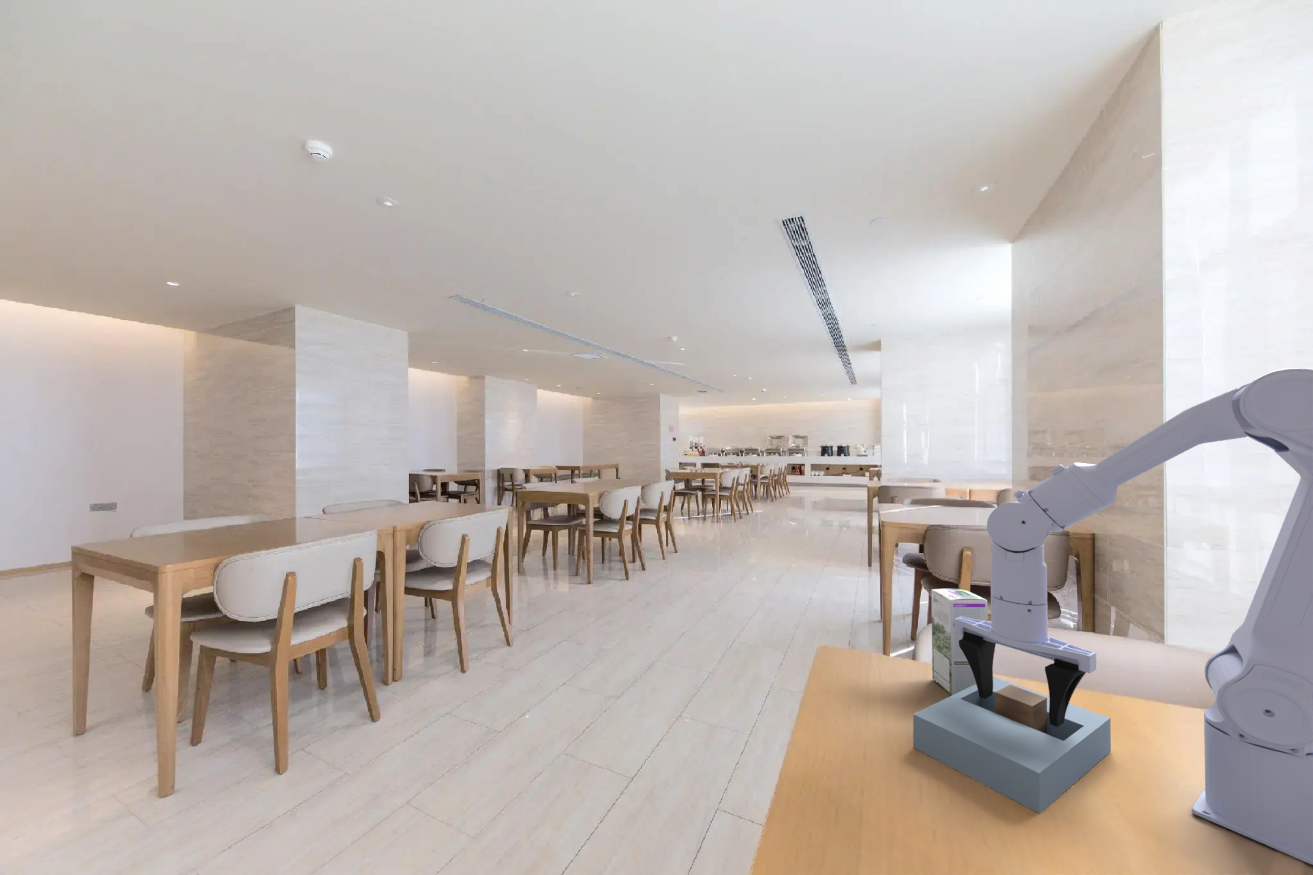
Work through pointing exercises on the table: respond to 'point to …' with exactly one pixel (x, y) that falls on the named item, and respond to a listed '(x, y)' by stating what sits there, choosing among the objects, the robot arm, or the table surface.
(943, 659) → the syrup box
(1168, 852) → the table surface
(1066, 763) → the well stand
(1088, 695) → the table surface
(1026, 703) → the walnut block
